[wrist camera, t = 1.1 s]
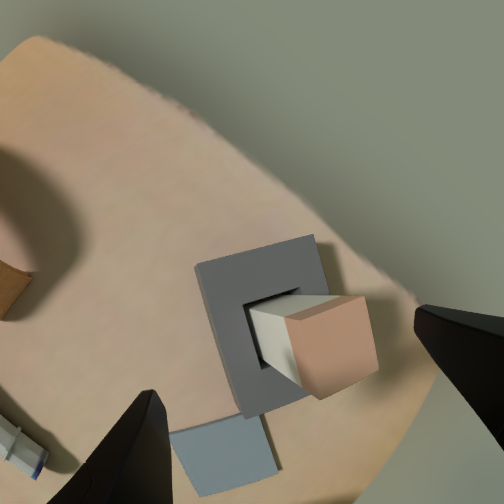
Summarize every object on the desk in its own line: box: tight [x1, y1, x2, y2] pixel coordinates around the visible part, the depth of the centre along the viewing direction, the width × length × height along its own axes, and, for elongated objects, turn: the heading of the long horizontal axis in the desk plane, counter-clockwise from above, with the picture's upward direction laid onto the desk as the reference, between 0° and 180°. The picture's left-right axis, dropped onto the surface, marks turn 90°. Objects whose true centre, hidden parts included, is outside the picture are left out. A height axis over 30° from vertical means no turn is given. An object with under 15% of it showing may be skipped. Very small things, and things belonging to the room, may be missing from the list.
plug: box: [243, 295, 379, 400], centre depth 18 cm, size 4×4×12 cm
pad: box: [169, 413, 279, 497], centre depth 21 cm, size 8×8×1 cm
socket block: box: [194, 234, 330, 420], centre depth 22 cm, size 12×9×4 cm
